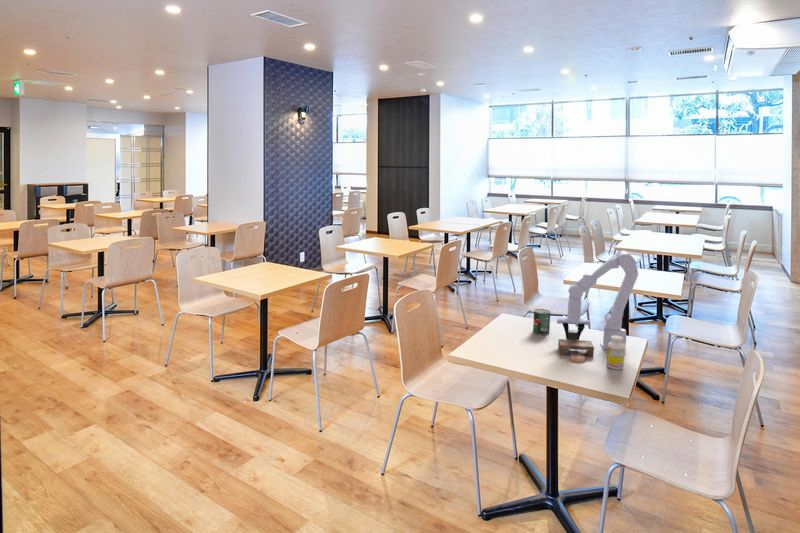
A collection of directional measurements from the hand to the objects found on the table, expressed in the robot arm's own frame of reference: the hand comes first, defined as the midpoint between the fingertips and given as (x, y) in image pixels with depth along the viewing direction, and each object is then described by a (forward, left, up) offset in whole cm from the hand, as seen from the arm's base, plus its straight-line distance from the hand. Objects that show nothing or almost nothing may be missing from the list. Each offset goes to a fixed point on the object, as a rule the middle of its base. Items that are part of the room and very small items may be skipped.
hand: (572, 339), depth 252 cm
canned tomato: (+13, -15, -3) cm, 20 cm away
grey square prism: (0, +6, -2) cm, 6 cm away
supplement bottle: (-14, +26, -3) cm, 30 cm away
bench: (0, +12, -2) cm, 12 cm away
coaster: (0, +21, -3) cm, 21 cm away
